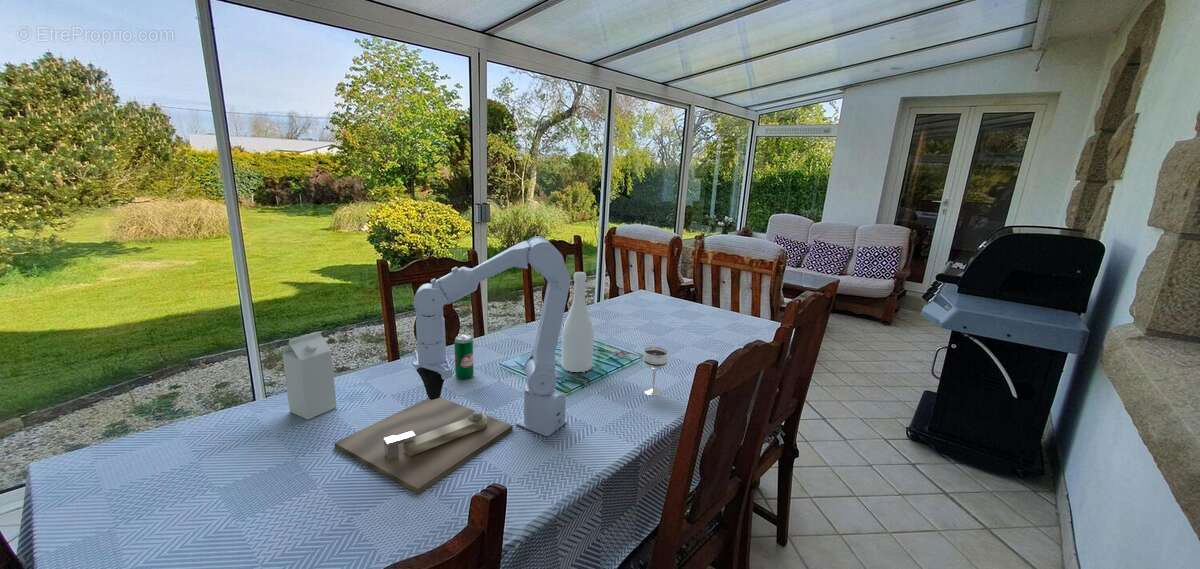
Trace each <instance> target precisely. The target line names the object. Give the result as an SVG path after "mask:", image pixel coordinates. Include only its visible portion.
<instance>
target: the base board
mask: <svg viewBox="0 0 1200 569" xmlns="http://www.w3.org/2000/svg"><path fill="white" fill-rule="evenodd" d="M475 411H476V410H475V409H472V408H469V407H467V406H465V405H462V404H459V403H457V402H455V401H452V400H449V399H447V398H444V397H441V396H440V398H437V399H434V400H430V399H429V398H428V397H427V398H425V399H423V400H421V401H418V402H416V403H415V404H413V405H410V406H408V407H406V408H404V409H402V410H400V411H398V412H396V413H393V414H391V415H390V416H387V417H386V418H383V419H381V420H379V421H377V422H375V423H373V424H371V425H369V426H366V427H364V428H362V429H360V430H359V431H356V432H354V433H352V434H350V435H348V436H346V437H343V438H341V439H339V440H337V441H335V442H334V449H336V450H338V451H340V452H342V453H343V454H345V455H347V456H349V457H351V458H353V459H354V460H356V461H357V462H360V463H361V464H363V465H364V466H366V467H369V468H371V469H372V470H374V471H376V472H377V473H379V474H381V475H383V476H384V477H386V478H388V479H389V480H392V481H394V482H395V483H397V484H399V485H400V486H402V487H404V488H406V489H408V490H410V491H411V492H413V493H415V494H417V495H420V494H422V493H423V492H424V491H425V490H427V489H429V488H431V487H432V486H433V485H434V484H436V483H438V482H439V481H440V480H442V479H443V478H445V477H447V476H448V475H449V474H451V473H452V472H453V471H455V470H456V469H458V468H459V467H461V466H462V465H464V464H465V463H467V462H469V461H470V460H471V459H472V458H474V457H475V456H477V455H478V454H480V453H481V452H483V451H484V450H485V449H486V450H487V448H489V447H491V445H494V444H495V443H496V442H497V441H499V440H501V439H502V438H503V437H505V436H507V434H509V433H511V432H512V431H513V430H514V428H513V427H514V426H513V424H510V423H507V422H505V421H502V420H499V419H497V418H495V417H492V416H489V415H487V414H485V413H483V414H484V415H486V417H487V426H486V428H485V429H483V430H480V431H474V432H472V433H469V434H466V435H464V436H461V437H459V438H456V439H454V440H451V441H448V442H446V443H443V444H441V445H438V446H435V447H433V448H430V449H428V450H425V451H423V452H420V453H417V454H415V455H412V456H409V455H408V454H407V453H406V452H405V451H404V445H403V443H401V444H398V450H399V457H398V458H395V459H392V460H389V461H388V459H387V458H386V456H385V449H384V438H386V437H389V436H392V435H395V436H397V435H400V434H404V433H407V432H410V431H413V432H414V434H415V435H416V436H419V435H421V434H424V433H427V432H430V431H433V430H435V429H438V428H441V427H444V426H446V425H449V424H452V423H455V422H458V421H460V420H463V419H466V418H469V417H470V416H471V415H472V413H473V412H475Z"/></svg>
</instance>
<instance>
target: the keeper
mask: <svg viewBox="0 0 1200 569" xmlns="http://www.w3.org/2000/svg"><path fill="white" fill-rule="evenodd" d="M413 439H416V435H415V434H414V432H413V431H410V432H407V433H404V434H400V435H397V436H395V435H392V436H389V437H386V438H384V449H385V456H386V458H387V459H388V461H389V460H392V459H395V458H398V457H399V450H398V444H401V443H404V442H407V441H410V440H413Z"/></svg>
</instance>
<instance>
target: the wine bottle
mask: <svg viewBox="0 0 1200 569" xmlns="http://www.w3.org/2000/svg"><path fill="white" fill-rule="evenodd" d="M573 281H574V284H573V300H572V303H571V306H570V309H569V311H568V315H567V317H566V320H565V322H564V325H563V327H562V334H561V367H562V369H563V370H565V371H566V372H568V371H570V372H569V373H571V372H583V373H586V372H585V371H587V372H589V371H590V370H591V369H592V367H593V361H594V358H593V357H594V355H593V354H594V336H595V335H594V334H595V332H594V327H593V323H592V321H591V320H592V319H591V318H590V314H589V310H588V307H587V303H586V281H587V274H586V272H584V271H576V272H574V273H573ZM588 370H589V371H588Z"/></svg>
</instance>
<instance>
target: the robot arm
mask: <svg viewBox="0 0 1200 569" xmlns="http://www.w3.org/2000/svg"><path fill="white" fill-rule="evenodd" d="M528 264H530V266H531V268H533V270H535V271H537V272H538V273H539V274H542V276H543V277H544V278H545V280H546V281H547V284H546V289H545V294H544V298H543V303H542V308H541V314H540V318H539V321H538V322H539V323H538V329H537V333H536V337H535V343H534V346H533V347H532V349H531V352H530V355H529V357H528V358H527V359H526V361H525V362H524V366H523V368H524V373H525V376H526V379H527V380H526V382H525V384H524V385H523V417H522V418H520V419H519V420H517V421H516V422H515V425H517V426H518V427H522V428H524V429H527V430H529V431H531V432H535V433H536V434H540V435H543V436H545V437H549V436H551V435H552V434H553V433H554V432H556V431H557V430H558V429H560V428H561V427H562V426H564V425H565V424H566V423H568V422H567V421H568V420H567V419H566V397H565V395H564V394H562V393H561V392H559V391H558V390H557V389H556V385H557V378H556V375H555V370H556V351H557V346H558V341H559V338H560V334H561V333H560V332H561V328H562V323H563V319H564V313H565V308H566V305H567V300H568V295H569V291H570V285H571V281H572V280H571V275H570V272H569V271H568V270H569V269H568V268H567V265H566V262H565V260H564V256H563V254H562V253H561V252H560V251H559V250H558V249H557V248H556V247H555V245H553V244H552V243H551V241H549V239H547V238H545V237H543V236H541V235H539V236H533V237H531V238H529V239H528V240H524V241H521V242H518V243H516V244H515V245H512V246H510V247H509V248H507V249H505V250H504V251H501V252H500V253H498V254H496V255H494V256H492V257H490V258H489V259H487V260H485V261H484V262H482V263H480V264H478V265H476V266H474V267H472V268H470V267H466V266H461V267H458V266H455V267H452V268H451V272H449V273H448V274H446V275H444V276H441V277H439V278H438V279H437V278H432V279H431V280H430V283H428V282H427V283H424V284H421V285H420V286H419V287H418V288H417V290H416V293H415V295H414V297H413V302H412V304H413V305H412V306H413V308H414V310H415V317H416V320H415V327H416V328H415V331H416V333H415V334H416V345H417V346H416V348H417V349H414V350H413V355H414V356H413V357H414V359H415V361H413V362H412V366H413V367H414V368H416V372H417V374H418V375H419V377H420V378H421V380H422V383H423V385H424V389H425V392H426V395H427V398H429V399H430V400H434V399H437V398H440V397H441V394H442V389H443V385H444V382H445V380H448V379H452V378H453V368H452V367H451V365H450V363H449V359H448V356H447V345H446V326H445V325H446V324H445V323H446V322H445V320H446V318H445V317H444V306H445V305H450V304H452V303H454V302H456V301H458V300H460V299H462V298H464V297H466V296H468V295H470V294H472V293H474V292H475V291H477V289H478V286H479V284H480V283H481V282H483V281H485V280H487V279H488V278H491V277H494V276H496V275H498V274H500V273H502V272H505V271H506V270H509V269H511V268H519V269H525V270H526V269H527V270H528V268H529V266H528Z"/></svg>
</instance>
